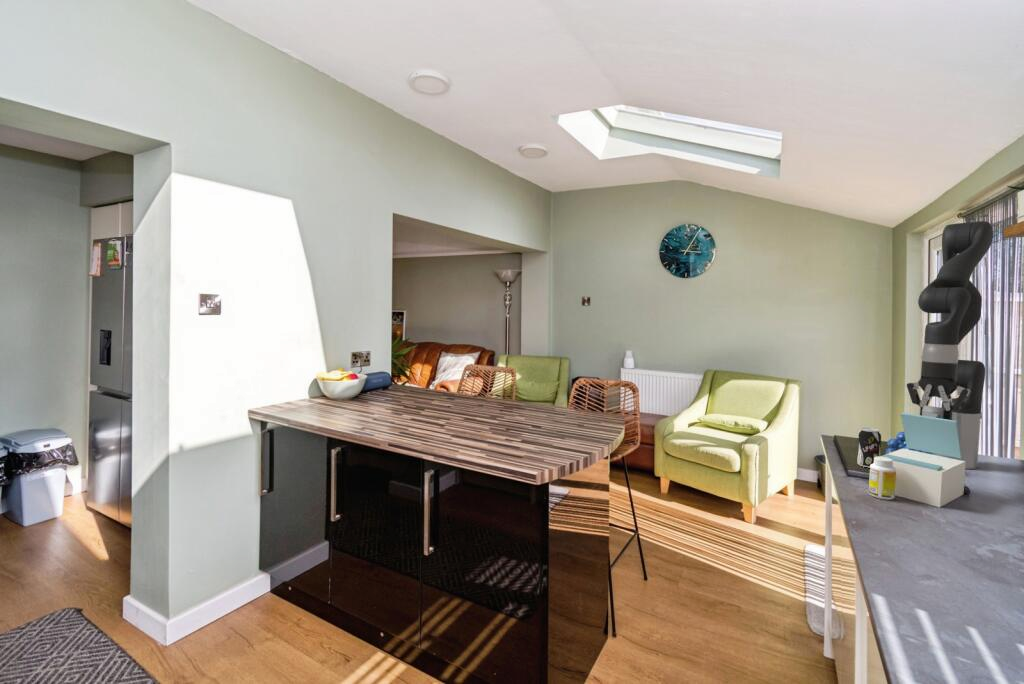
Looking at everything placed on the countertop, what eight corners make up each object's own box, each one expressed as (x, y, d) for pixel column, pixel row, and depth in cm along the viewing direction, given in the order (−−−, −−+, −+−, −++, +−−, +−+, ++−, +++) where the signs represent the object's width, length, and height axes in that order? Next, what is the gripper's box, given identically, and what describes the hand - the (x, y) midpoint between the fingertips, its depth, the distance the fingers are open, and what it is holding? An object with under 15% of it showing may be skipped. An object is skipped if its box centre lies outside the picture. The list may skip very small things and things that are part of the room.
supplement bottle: (897, 496, 130) (899, 459, 129) (891, 502, 127) (893, 463, 126) (872, 490, 135) (874, 454, 134) (865, 495, 131) (867, 458, 130)
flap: (906, 447, 142) (915, 435, 145) (960, 458, 132) (968, 445, 135) (900, 412, 138) (908, 400, 141) (955, 420, 128) (963, 408, 131)
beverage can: (858, 468, 153) (859, 430, 152) (856, 462, 158) (857, 426, 157) (880, 471, 150) (882, 432, 149) (878, 465, 155) (880, 428, 154)
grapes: (934, 469, 152) (937, 431, 151) (931, 474, 147) (934, 435, 146) (887, 460, 160) (889, 424, 159) (883, 465, 155) (885, 428, 155)
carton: (900, 478, 144) (902, 446, 143) (963, 494, 132) (965, 458, 131) (874, 489, 135) (876, 455, 135) (939, 507, 123) (942, 469, 123)
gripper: (978, 362, 132) (973, 426, 133) (913, 357, 144) (909, 416, 145) (968, 363, 128) (963, 429, 129) (902, 358, 140) (898, 418, 141)
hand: (935, 421), depth 137 cm, fingers closed on flap, 4 cm apart
